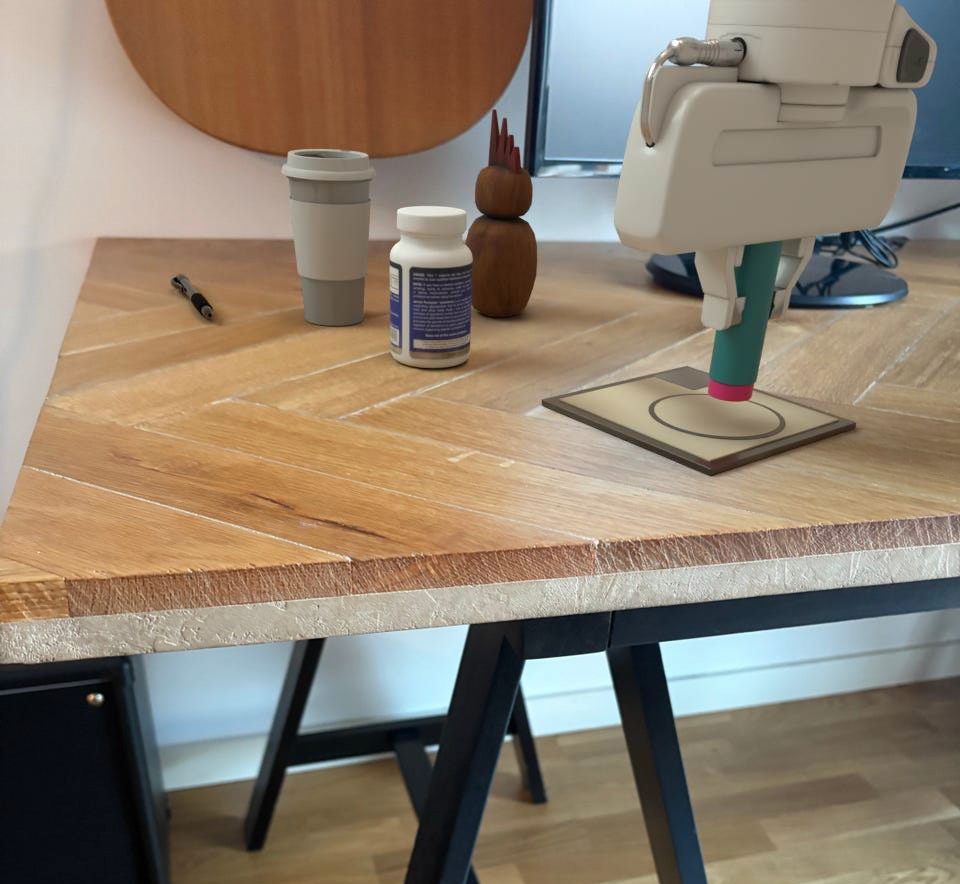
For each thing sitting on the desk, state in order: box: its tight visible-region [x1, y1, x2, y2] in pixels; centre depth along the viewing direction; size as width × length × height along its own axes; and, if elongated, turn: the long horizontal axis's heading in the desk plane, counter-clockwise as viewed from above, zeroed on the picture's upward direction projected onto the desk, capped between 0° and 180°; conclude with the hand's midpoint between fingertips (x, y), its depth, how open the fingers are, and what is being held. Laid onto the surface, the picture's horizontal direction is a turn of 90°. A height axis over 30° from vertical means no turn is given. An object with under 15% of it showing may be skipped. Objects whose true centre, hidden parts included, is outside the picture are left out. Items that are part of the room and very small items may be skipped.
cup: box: [281, 148, 377, 327], centre depth 77 cm, size 7×7×12 cm
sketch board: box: [540, 365, 857, 476], centre depth 63 cm, size 14×14×1 cm
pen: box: [170, 273, 214, 319], centre depth 82 cm, size 14×2×1 cm, turn 24°
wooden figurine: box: [464, 109, 538, 318], centre depth 80 cm, size 7×6×15 cm
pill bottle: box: [389, 205, 473, 369], centre depth 69 cm, size 6×6×10 cm
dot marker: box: [708, 240, 783, 402], centre depth 56 cm, size 3×3×12 cm
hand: (743, 322), depth 57 cm, fingers closed on dot marker, 3 cm apart
